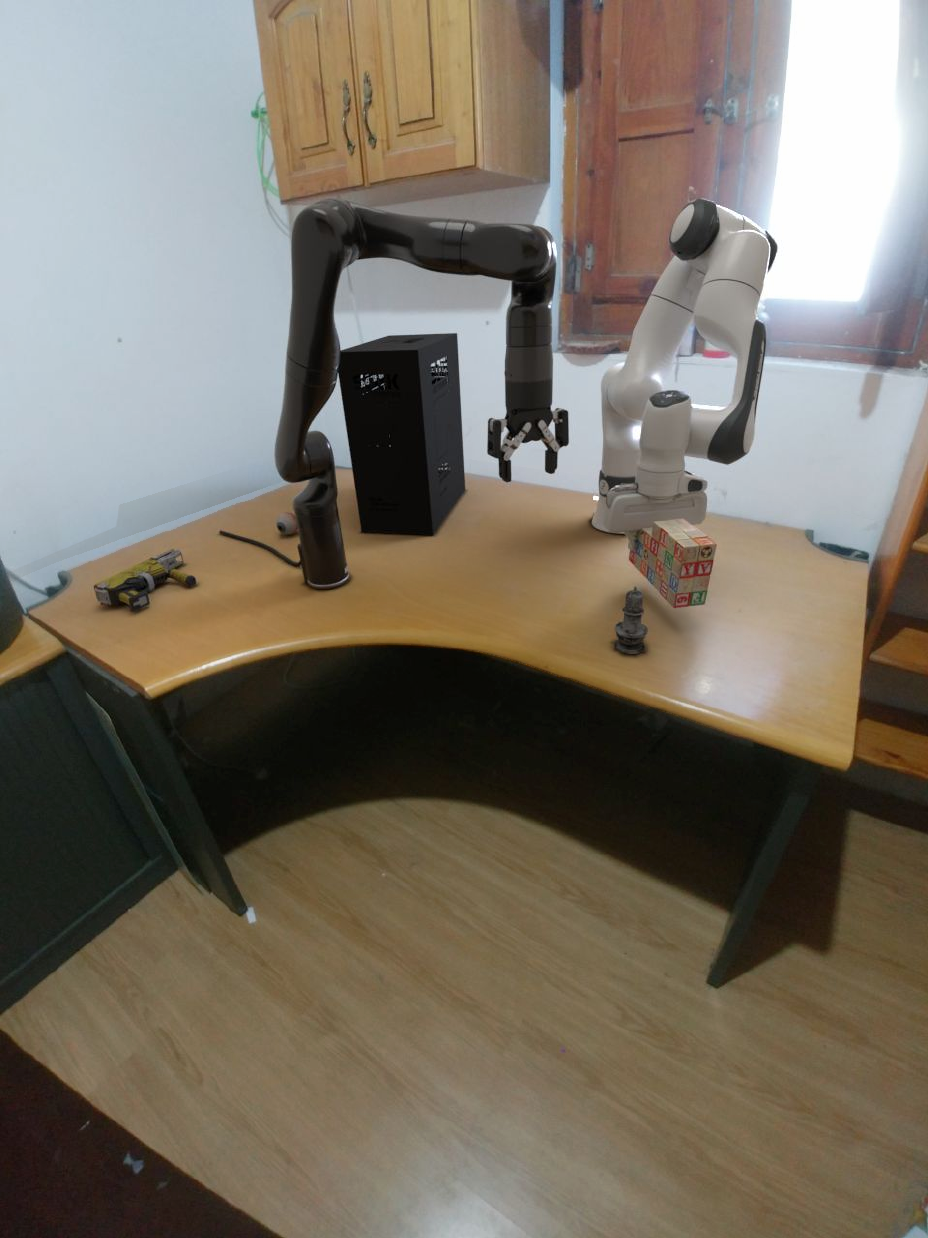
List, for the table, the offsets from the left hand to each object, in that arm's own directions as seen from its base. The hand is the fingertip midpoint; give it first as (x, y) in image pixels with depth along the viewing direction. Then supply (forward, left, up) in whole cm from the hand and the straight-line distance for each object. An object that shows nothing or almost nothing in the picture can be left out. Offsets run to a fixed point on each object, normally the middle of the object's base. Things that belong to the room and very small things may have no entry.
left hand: (528, 476), depth 103 cm
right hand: (+19, +22, -20) cm, 35 cm away
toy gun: (-85, -11, -29) cm, 91 cm away
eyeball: (-77, +25, -29) cm, 86 cm away
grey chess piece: (+20, -2, -29) cm, 35 cm away
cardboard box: (-51, +52, -29) cm, 79 cm away
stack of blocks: (+23, +16, -24) cm, 37 cm away
